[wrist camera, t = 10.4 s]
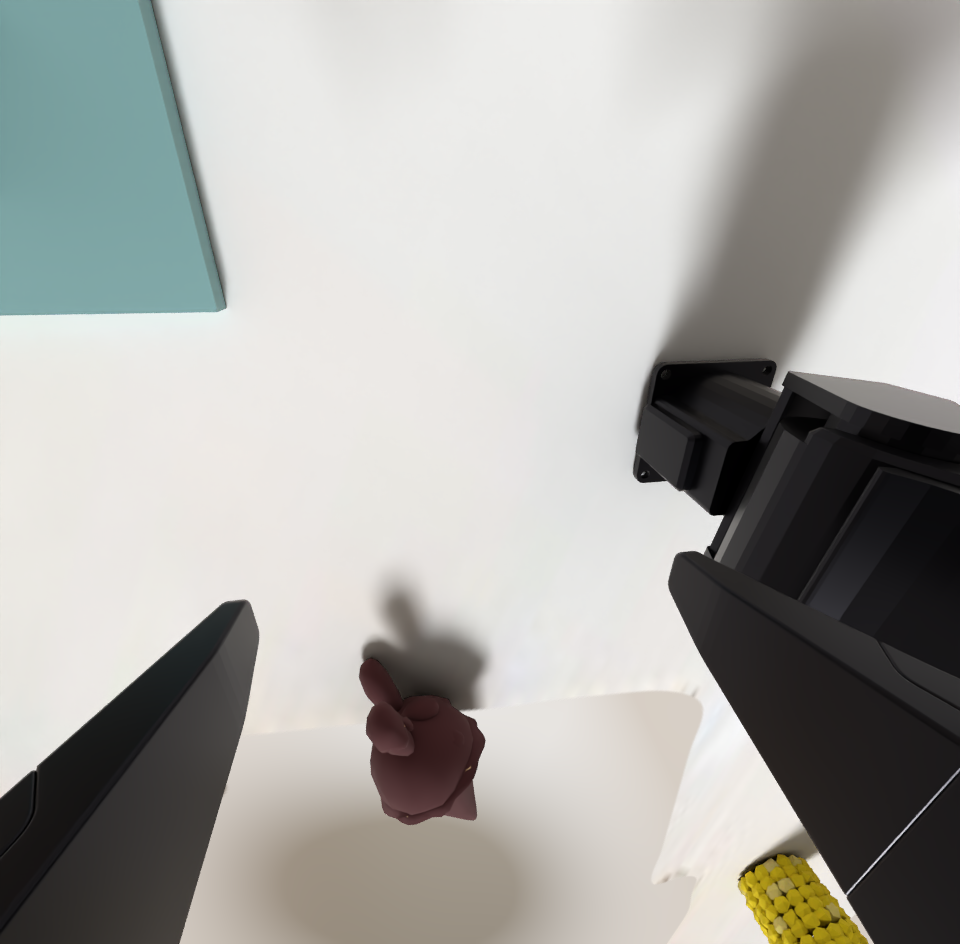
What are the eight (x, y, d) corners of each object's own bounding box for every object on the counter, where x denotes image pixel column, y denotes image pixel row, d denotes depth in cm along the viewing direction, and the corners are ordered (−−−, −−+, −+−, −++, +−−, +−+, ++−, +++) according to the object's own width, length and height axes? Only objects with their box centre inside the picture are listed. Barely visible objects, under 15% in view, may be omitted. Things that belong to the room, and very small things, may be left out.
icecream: (540, 833, 29) (443, 690, 23) (442, 909, 28) (311, 779, 21) (498, 745, 35) (413, 614, 29) (417, 804, 34) (309, 680, 28)
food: (716, 865, 58) (780, 823, 56) (765, 906, 61) (827, 867, 59) (802, 1042, 43) (892, 992, 42) (861, 1084, 46) (948, 1040, 45)
